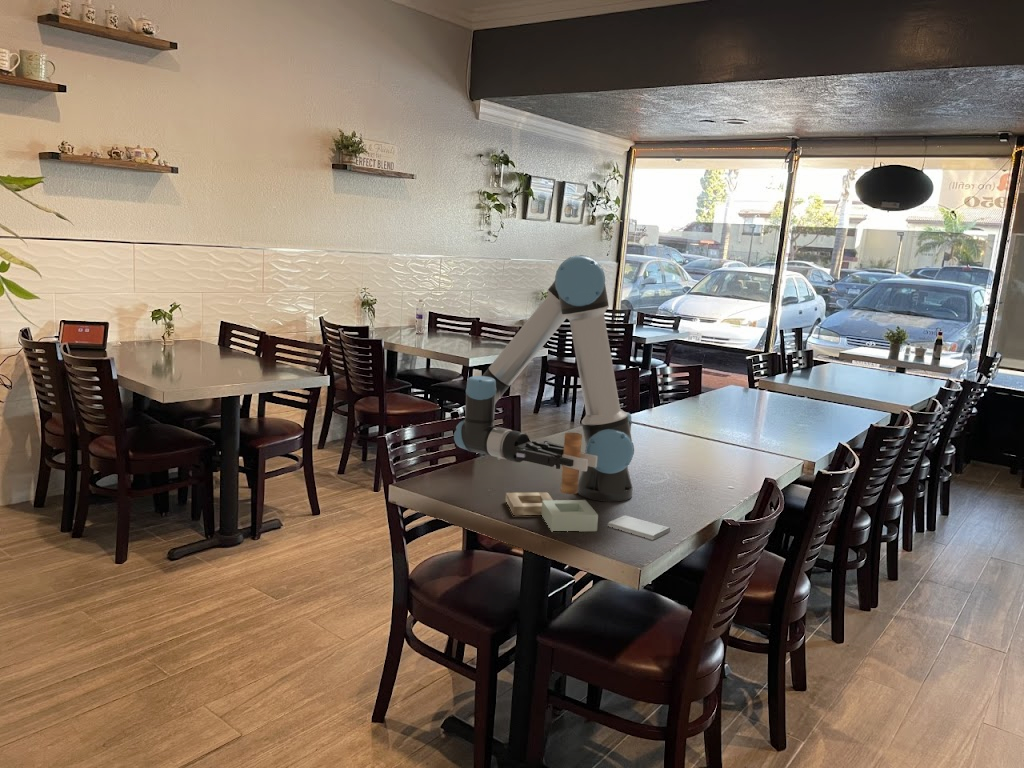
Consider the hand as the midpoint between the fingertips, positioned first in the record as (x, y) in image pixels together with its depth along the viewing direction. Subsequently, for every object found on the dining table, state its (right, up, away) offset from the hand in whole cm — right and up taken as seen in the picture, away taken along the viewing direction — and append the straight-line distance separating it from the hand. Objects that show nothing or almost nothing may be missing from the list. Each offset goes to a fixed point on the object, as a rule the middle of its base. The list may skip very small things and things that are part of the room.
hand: (591, 463), depth 183 cm
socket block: (-5, -15, +6) cm, 17 cm away
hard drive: (+12, -17, +5) cm, 21 cm away
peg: (-5, -7, +4) cm, 10 cm away
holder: (-14, -13, +15) cm, 24 cm away
